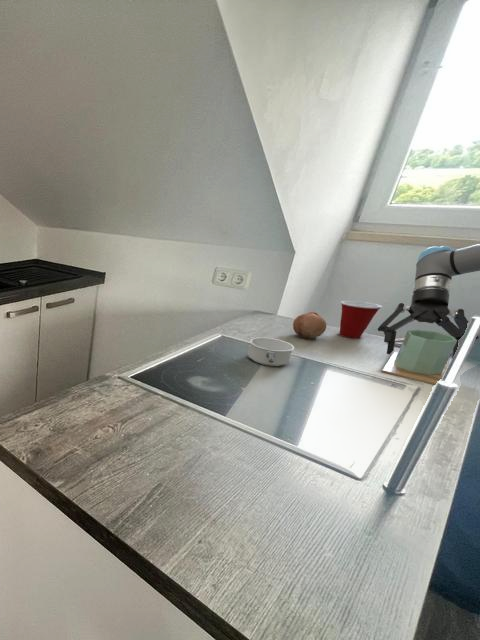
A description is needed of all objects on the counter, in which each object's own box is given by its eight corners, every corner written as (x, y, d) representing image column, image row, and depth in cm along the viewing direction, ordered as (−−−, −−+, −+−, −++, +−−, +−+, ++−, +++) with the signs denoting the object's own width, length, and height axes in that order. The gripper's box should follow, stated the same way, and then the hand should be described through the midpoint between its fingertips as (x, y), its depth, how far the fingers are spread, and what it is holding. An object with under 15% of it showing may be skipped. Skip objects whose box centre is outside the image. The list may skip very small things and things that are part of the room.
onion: (301, 341, 143) (309, 315, 142) (328, 343, 134) (337, 315, 133) (282, 334, 140) (291, 307, 140) (309, 336, 131) (318, 307, 131)
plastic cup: (366, 333, 140) (378, 301, 135) (372, 342, 132) (385, 308, 127) (328, 328, 146) (339, 297, 141) (332, 337, 137) (343, 304, 133)
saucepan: (243, 373, 113) (247, 356, 111) (246, 350, 128) (250, 335, 126) (290, 382, 107) (296, 364, 105) (288, 357, 123) (293, 341, 120)
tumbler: (460, 343, 103) (450, 333, 110) (412, 337, 108) (405, 328, 114) (444, 377, 107) (435, 365, 114) (398, 370, 112) (392, 359, 118)
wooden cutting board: (441, 386, 104) (442, 384, 103) (381, 371, 112) (382, 370, 112) (448, 364, 115) (449, 362, 115) (393, 353, 124) (394, 351, 123)
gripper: (379, 282, 120) (369, 343, 115) (500, 292, 107) (495, 360, 102) (371, 295, 126) (360, 353, 121) (484, 306, 113) (478, 371, 108)
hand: (421, 357), depth 111 cm, fingers open, 13 cm apart
